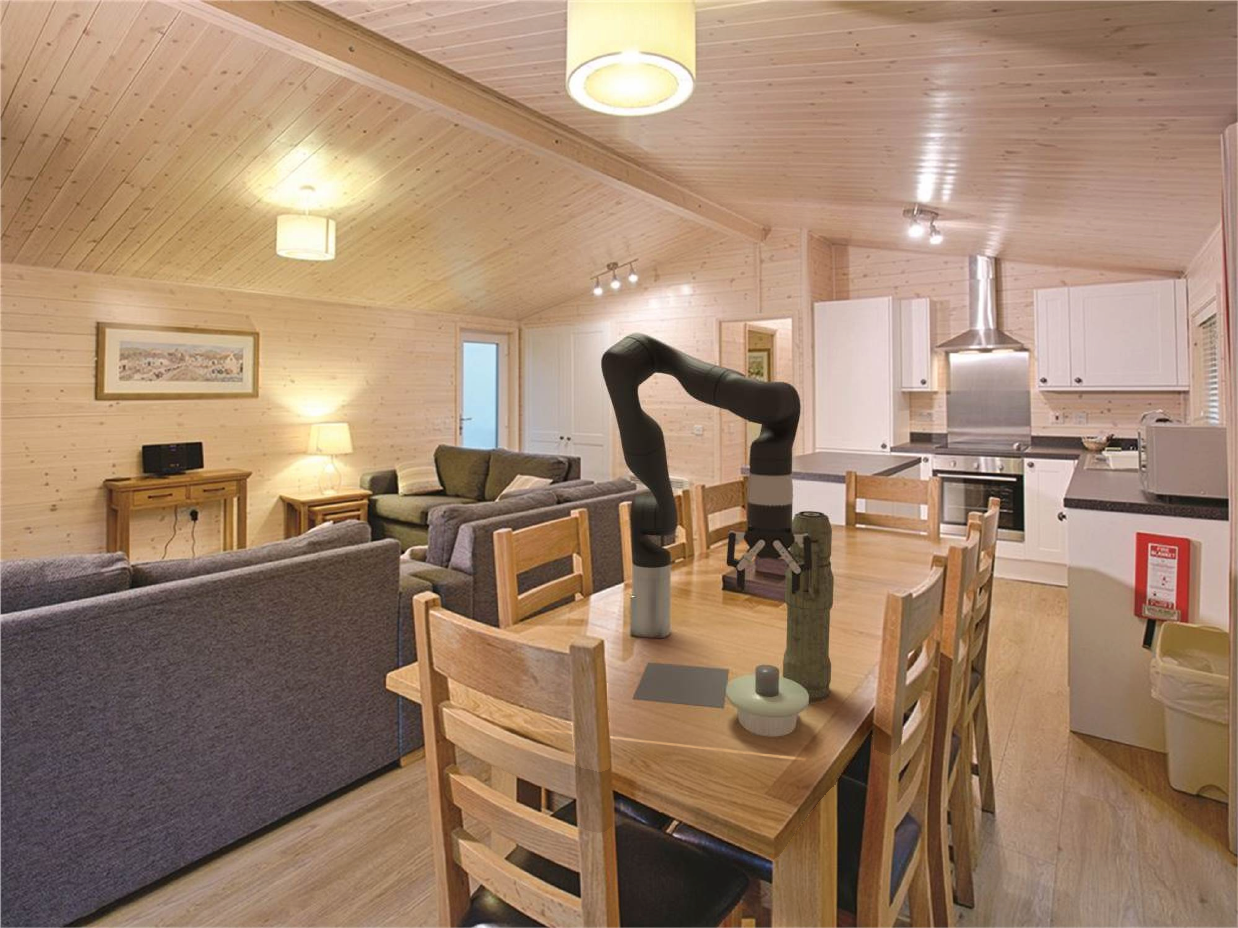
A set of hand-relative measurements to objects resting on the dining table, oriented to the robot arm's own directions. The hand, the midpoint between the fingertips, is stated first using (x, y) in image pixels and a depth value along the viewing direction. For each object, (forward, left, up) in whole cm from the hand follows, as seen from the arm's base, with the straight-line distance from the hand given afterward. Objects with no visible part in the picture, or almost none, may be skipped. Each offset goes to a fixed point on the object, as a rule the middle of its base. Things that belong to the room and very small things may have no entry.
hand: (767, 591), depth 113 cm
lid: (0, -2, -18) cm, 18 cm away
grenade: (+8, +13, -24) cm, 28 cm away
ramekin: (0, -2, -24) cm, 24 cm away
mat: (-16, +10, -23) cm, 30 cm away
